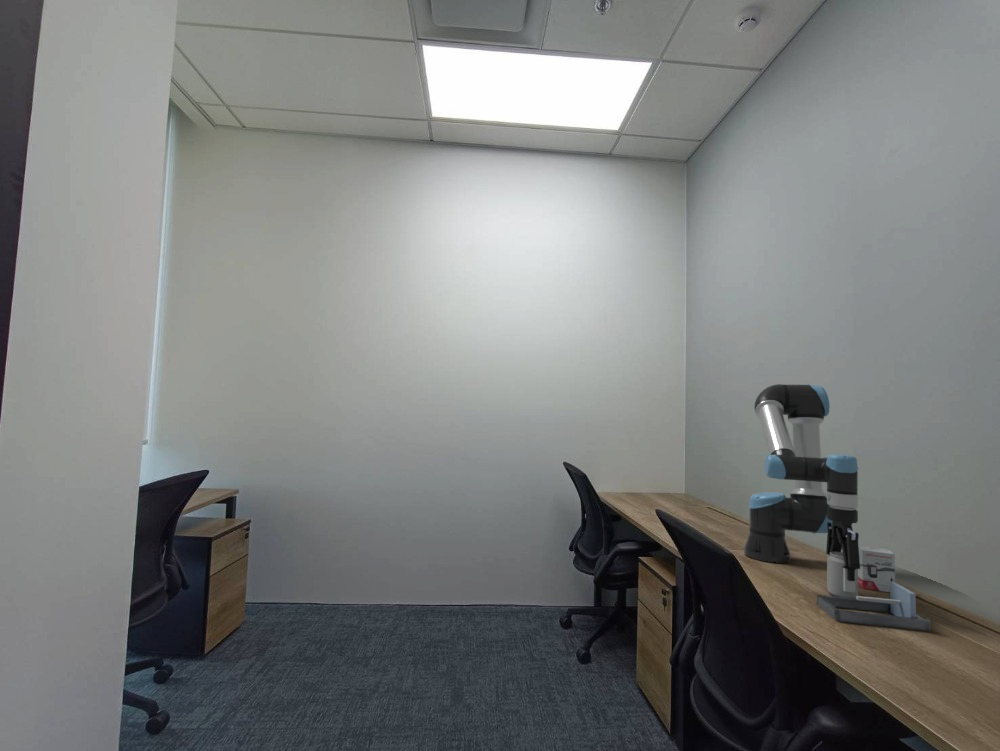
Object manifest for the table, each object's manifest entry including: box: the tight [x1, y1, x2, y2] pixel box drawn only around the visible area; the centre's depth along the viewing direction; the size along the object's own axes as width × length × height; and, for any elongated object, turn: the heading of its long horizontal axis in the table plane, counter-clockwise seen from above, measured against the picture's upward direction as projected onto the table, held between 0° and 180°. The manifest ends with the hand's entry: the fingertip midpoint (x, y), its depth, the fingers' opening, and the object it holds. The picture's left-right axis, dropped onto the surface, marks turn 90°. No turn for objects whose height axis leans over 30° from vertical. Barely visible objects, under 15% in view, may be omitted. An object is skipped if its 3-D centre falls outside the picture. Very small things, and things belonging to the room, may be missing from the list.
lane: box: [816, 594, 932, 632], centre depth 130 cm, size 12×21×2 cm, turn 79°
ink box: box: [858, 545, 896, 593], centre depth 154 cm, size 9×5×12 cm, turn 69°
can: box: [826, 551, 859, 599], centre depth 146 cm, size 8×8×12 cm
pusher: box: [855, 581, 917, 618], centre depth 130 cm, size 9×11×8 cm
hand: (842, 586), depth 145 cm, fingers closed on can, 7 cm apart
